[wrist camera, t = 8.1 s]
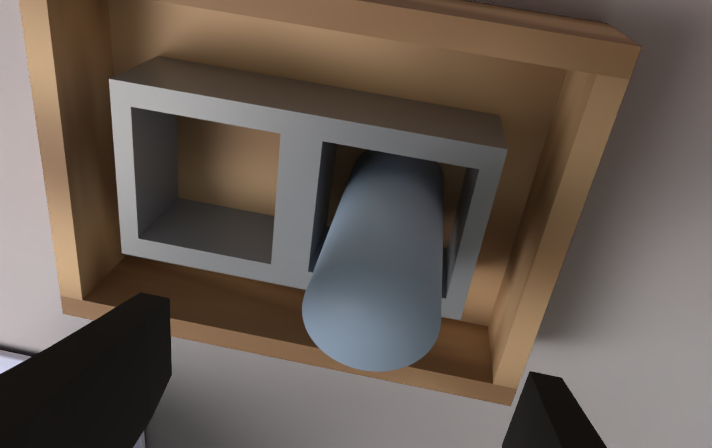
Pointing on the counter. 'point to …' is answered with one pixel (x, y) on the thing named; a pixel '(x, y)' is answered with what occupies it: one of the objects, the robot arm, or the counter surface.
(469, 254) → the plate
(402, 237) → the dowel
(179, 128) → the tray box
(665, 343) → the counter surface
